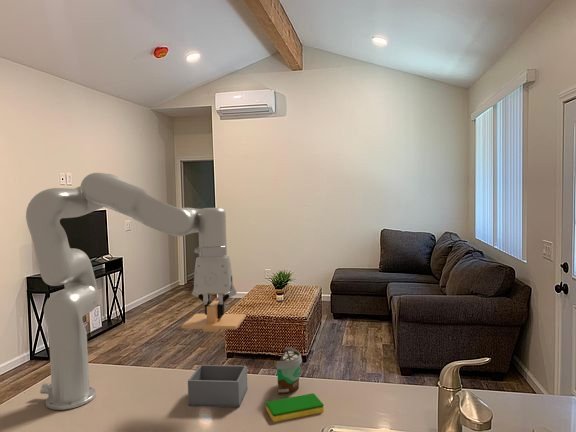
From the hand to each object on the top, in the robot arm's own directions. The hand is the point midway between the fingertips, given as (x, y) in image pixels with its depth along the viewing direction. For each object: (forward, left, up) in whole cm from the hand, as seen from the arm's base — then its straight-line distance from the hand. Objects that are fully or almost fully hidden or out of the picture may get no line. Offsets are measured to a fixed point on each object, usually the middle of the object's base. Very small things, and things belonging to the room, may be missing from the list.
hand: (214, 316), depth 120 cm
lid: (0, 0, -3) cm, 3 cm away
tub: (+1, 0, -23) cm, 23 cm away
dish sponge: (+23, -6, -24) cm, 33 cm away
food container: (+21, +7, -23) cm, 32 cm away
